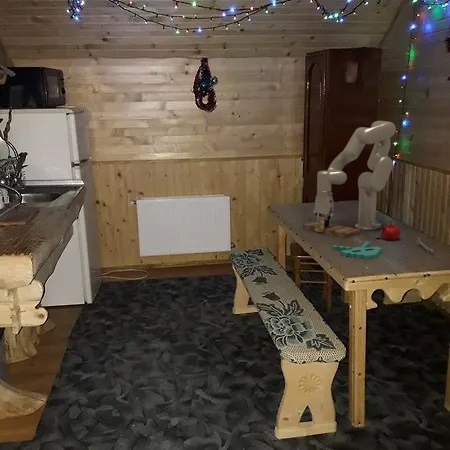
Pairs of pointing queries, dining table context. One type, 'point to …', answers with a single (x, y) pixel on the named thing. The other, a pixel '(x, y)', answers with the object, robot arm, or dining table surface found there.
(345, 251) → the alien figure
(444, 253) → the dining table surface
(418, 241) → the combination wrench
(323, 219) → the tan cardboard box
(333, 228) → the walnut board
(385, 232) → the pomegranate
